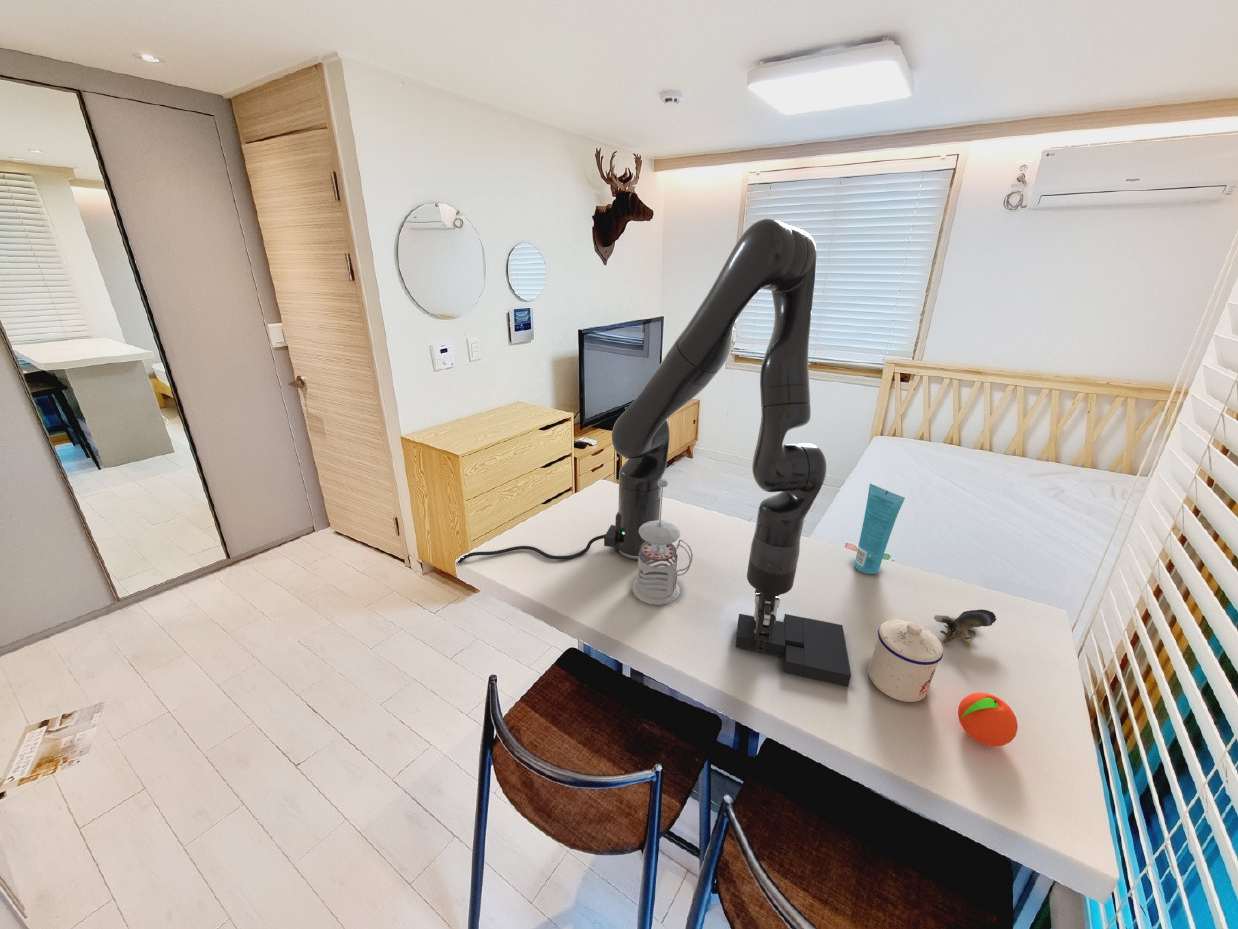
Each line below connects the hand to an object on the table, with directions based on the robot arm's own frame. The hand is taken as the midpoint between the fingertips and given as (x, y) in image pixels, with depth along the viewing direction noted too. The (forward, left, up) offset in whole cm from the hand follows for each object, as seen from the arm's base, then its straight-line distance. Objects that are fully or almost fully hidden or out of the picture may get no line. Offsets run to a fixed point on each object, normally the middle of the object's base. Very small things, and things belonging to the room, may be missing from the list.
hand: (759, 636), depth 89 cm
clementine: (+31, -10, -1) cm, 33 cm away
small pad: (+1, 0, -1) cm, 2 cm away
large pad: (+9, 0, -1) cm, 9 cm away
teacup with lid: (+22, -1, -1) cm, 22 cm away
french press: (-20, +9, -1) cm, 22 cm away
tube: (+22, +30, -1) cm, 37 cm away
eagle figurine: (+35, +12, -1) cm, 37 cm away
